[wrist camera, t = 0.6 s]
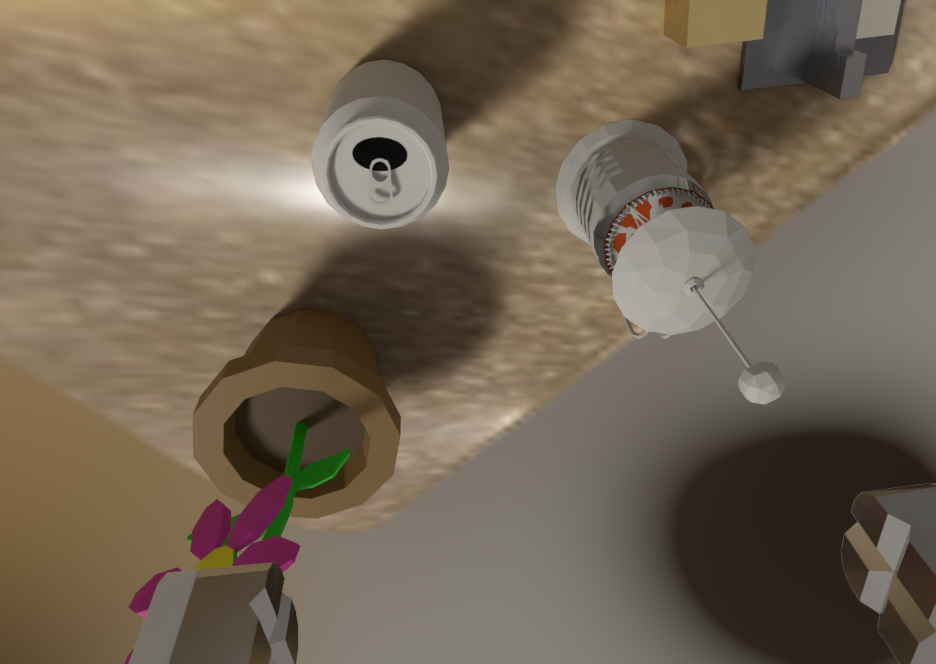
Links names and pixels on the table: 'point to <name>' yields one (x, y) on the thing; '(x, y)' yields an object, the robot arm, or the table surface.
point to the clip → (714, 21)
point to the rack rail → (821, 44)
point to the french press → (659, 237)
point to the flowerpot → (288, 439)
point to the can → (381, 146)
